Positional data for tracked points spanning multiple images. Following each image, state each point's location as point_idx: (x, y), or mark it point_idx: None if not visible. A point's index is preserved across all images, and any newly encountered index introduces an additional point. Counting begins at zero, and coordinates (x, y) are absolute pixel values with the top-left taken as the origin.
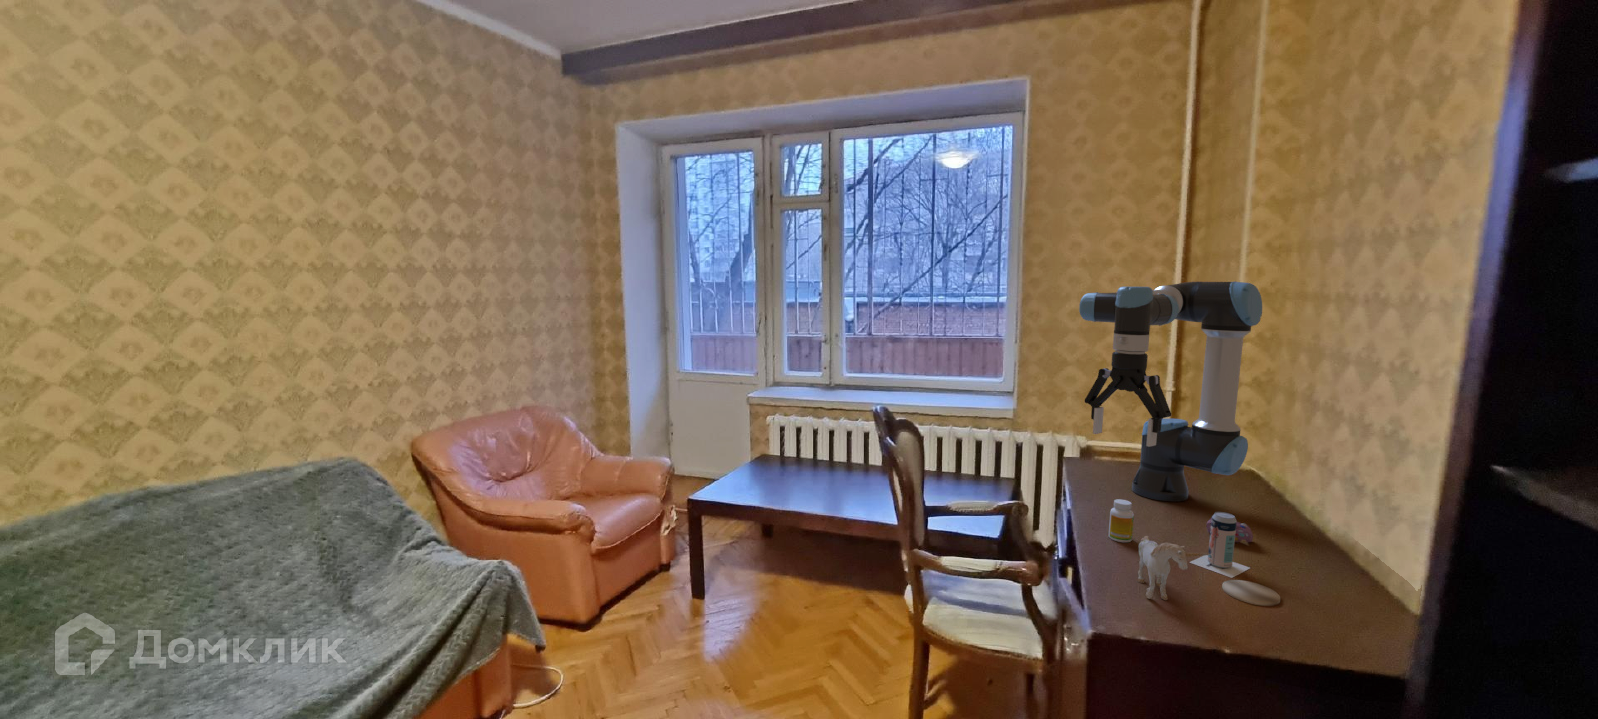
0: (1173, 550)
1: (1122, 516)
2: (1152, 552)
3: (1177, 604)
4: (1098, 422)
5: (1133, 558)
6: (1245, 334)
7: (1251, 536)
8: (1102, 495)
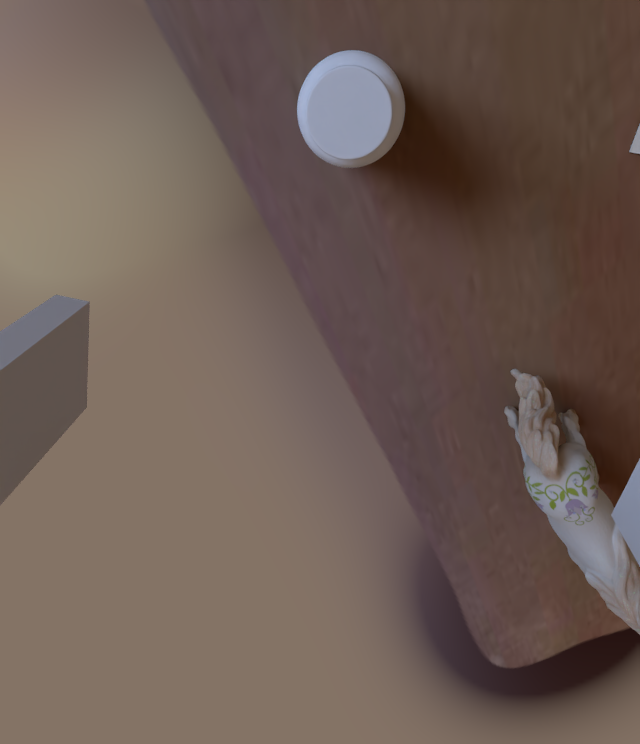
0: None
1: (369, 162)
2: (596, 588)
3: (623, 480)
4: (25, 439)
5: (452, 268)
6: None
7: None
8: None
